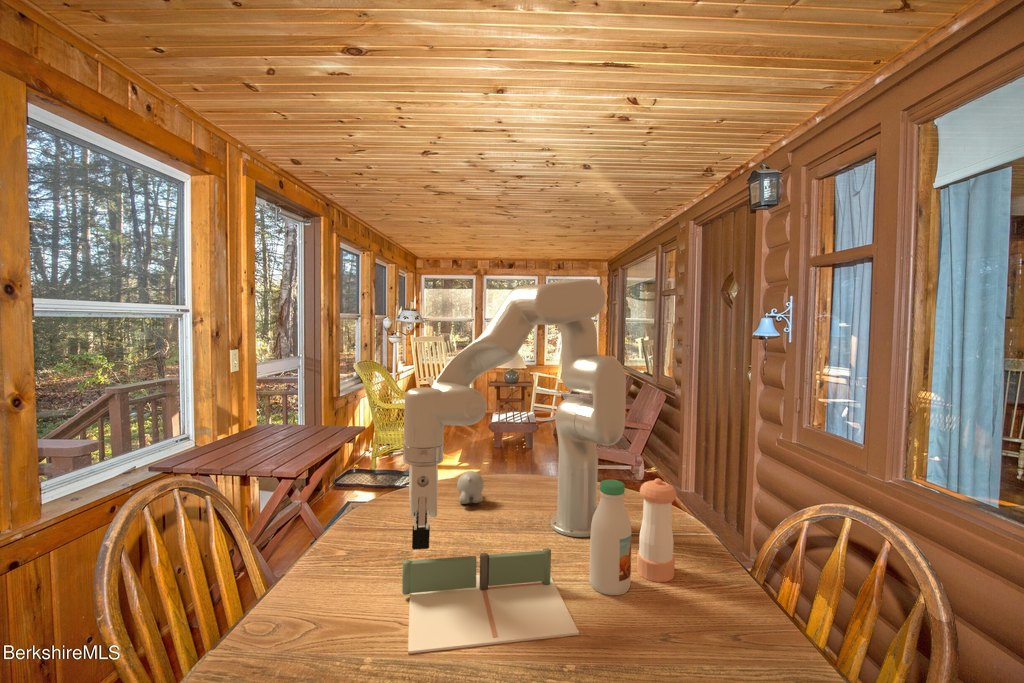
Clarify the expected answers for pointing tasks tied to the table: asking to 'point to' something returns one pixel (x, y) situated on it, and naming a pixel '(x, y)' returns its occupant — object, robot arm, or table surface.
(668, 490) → the salt shaker
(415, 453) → the robot arm
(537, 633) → the card
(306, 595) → the table surface
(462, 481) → the chubby cartoon animal
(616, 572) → the milk bottle
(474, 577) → the fence panel
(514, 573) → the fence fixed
